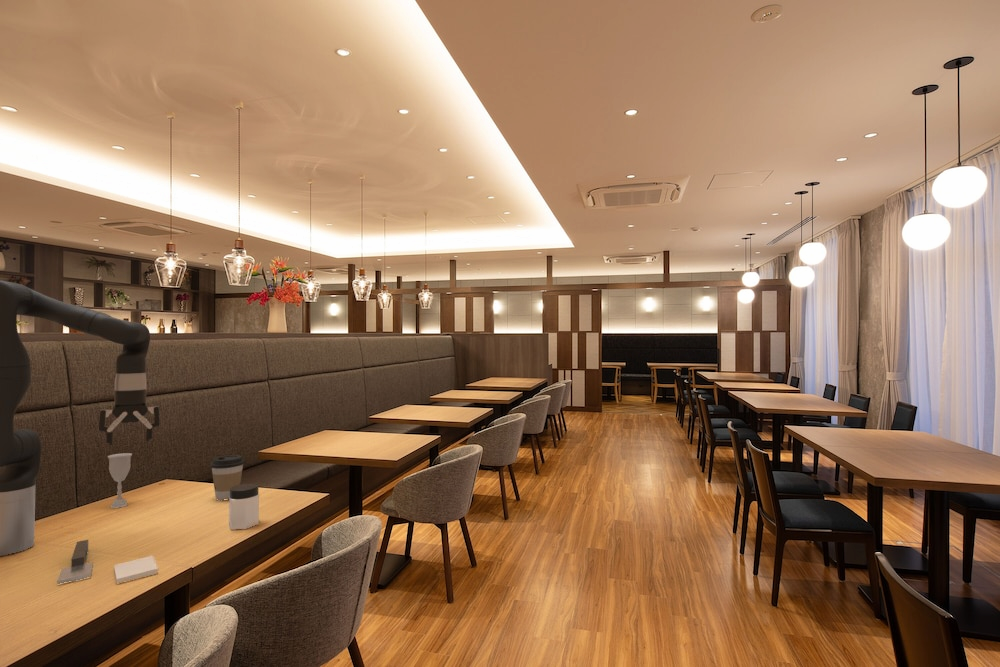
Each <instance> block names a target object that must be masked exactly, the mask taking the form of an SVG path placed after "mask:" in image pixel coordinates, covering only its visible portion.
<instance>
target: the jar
mask: <svg viewBox="0 0 1000 667" xmlns="http://www.w3.org/2000/svg"><path fill="white" fill-rule="evenodd" d="M228 501H229V502H228V503H229V504H228V527H229V529H230V530H231V531H235V530H236V529H242V530H248V529H251V528H253V527H255V525H256V526H259V524H260V494H259V484H256V483H242V484H240V485H237V486H234V487H232V488H230V496H229V500H228ZM252 526H253V527H252ZM250 527H251V528H250ZM247 528H248V529H247ZM236 531H237V530H236Z"/></svg>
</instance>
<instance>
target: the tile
mask: <svg viewBox="0 0 1000 667" xmlns="http://www.w3.org/2000/svg"><path fill="white" fill-rule="evenodd" d="M156 562H157V561H156V559H155V557H154V555H150V556H144V557H142V558H137V559H133V560H130V561H125V562H121V563H117V564H114V565H113V571H114V572H115V573H114V577H116V578H115V583H116V582H117V583H121V582H124V581H129V580H133V579H137V578H141V577H145V576H148V577H151V576H150V575H152V576H155V575H154V574H156V575H158V574H159V568H158V564H157V563H156ZM157 573H158V574H157ZM145 578H146V577H145ZM141 579H142V578H141ZM137 580H138V579H137ZM133 581H134V580H133Z"/></svg>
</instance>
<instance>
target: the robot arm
mask: <svg viewBox="0 0 1000 667" xmlns="http://www.w3.org/2000/svg"><path fill="white" fill-rule="evenodd" d="M18 316H25V317H32V318H33V317H34V318H40V319H43V320H47V321H50V322H54V323H56V324H58V325H61V326H64V327H66V328H68V329H71V330H74V331H77V332H81V333H84V334H87V335H91V336H96V337H100V338H102V339H104V340H107V341H110V342H113V343H115V344H119V345H122V352H121V353H120V354H119V355H117V357H116V360H115V363H116V364H115V379H114V407H113V409H106V408H105V409H104V408H103V409H101V410H100V412H99V422H98V431H101V432H105V433H106V443H107V444H109V446H113V444H114V431H113V430H114V429H115V428H116V427H117V426H118V425H119V424H120V423H122V424H129V423H137V422H141V423H142V424H143V425H144V426H145V427H146V428H145V441H146V442H149V441H150V440H152V438H153V428H155V427H159V426H160V423H161V422H160V409H159V406H158V405H154V406H149V407H148V406H147V387H148V386H147V374H146V371H147V370H146V369H147V368H146V367H147V366H146V365H147V363H146V362H147V360H146V358H147V354H148V351H149V347H150V342H151V334H150V330H149V328H148V326H147V325H145V323H143V322H142V323H141V322H137V321H135V322H134V321H128V320H124V319H120V318H117V317H113V316H111V315H110V314H107V313H104V312H101V311H97V310H94V309H90V308H87V307H83V306H79V305H76V304H71V303H68V302H64V301H60V300H58V299H55V298H53V297H50V296H48V295H45V294H43V293H41V292H38V291H36V290H34V289H33V288H30V287H28V286H25V285H24V284H21V283H17V282H12V281H5V280H1V279H0V467H4V469H3V470H2V471H1V472H0V557H3V556H8V554H9V555H12V553H14V554H17V553H20V551H21V552H23V550H24V551H27V550H29V549H31V548H32V547H33V546H34V545H35V524H36V523H35V520H36V519H35V518H36V515H35V514H36V513H35V512H36V480H37V477H38V476H39V474H40V470H41V469H40V468H41V461H42V460H41V458H42V440H41V438H40V435H39V434H38V433H37V432H36V431H35V430H33V429H30V428H21V429H15V430H14V422H15V414H16V411H17V409H18V407H19V405H20V404H21V402H22V401H23V399H24V397H25V396H26V394H27V392H28V390H29V388H30V386H31V382H32V365H31V359H30V358H31V357H30V355H29V353H28V351H27V349H26V347H25V345H24V343H23V341H22V340H21V337H20V334H19V332H18V324H17V322H18V321H17V319H18ZM148 411H149V412H150V413H151V415H153V419H154V420H153V421H154V422H150V421H149V420H148V419H147V418H146V417H145V415H146V414H147V412H148ZM111 414H112V415H113V416H114V417H115V418H116V419H115V420H113V422H112V423H111V424H110V425H109V426H105V425H106V418H108V417H110V415H111ZM30 547H31V548H30ZM28 548H29V549H28ZM16 552H17V553H16ZM2 555H3V556H2Z"/></svg>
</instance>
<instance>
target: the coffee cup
mask: <svg viewBox="0 0 1000 667" xmlns="http://www.w3.org/2000/svg"><path fill="white" fill-rule="evenodd" d="M244 464H245V459H243V457H242V456H241V455H240V454H235V455H234V454H230V455H229V454H228V455H220V456H217V457H214V458H213V459H212V462H211V463H210V466H209V468H210V469H211V472H212V481H213V487H214V495H215V499H218V500H224V499H229V496H230V488H232V487H234V486H237V485H241V482H242V474H243V468H244V467H243V466H244ZM218 500H217V501H218Z"/></svg>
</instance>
